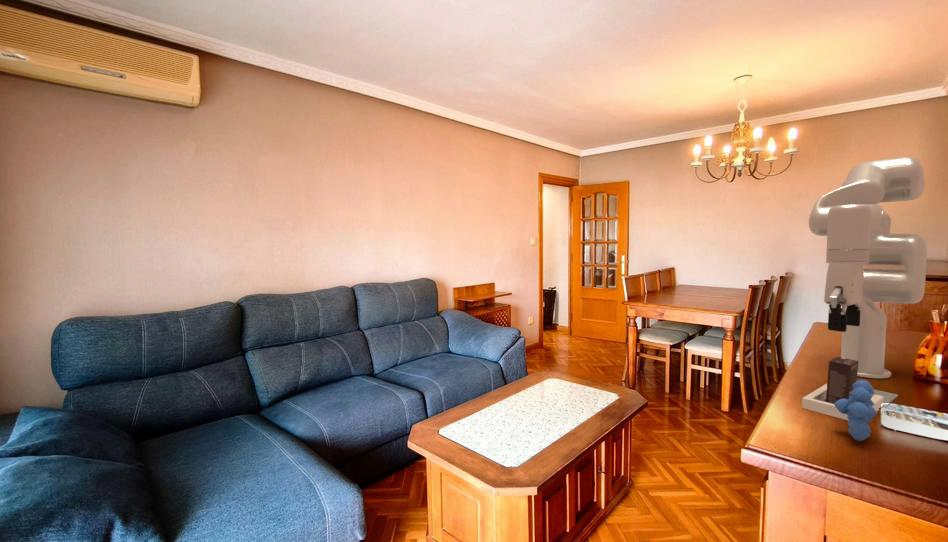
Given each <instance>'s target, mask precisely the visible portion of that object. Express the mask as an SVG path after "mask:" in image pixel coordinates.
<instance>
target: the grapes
mask: <svg viewBox="0 0 948 542" xmlns="http://www.w3.org/2000/svg"><path fill="white" fill-rule="evenodd" d="M852 386H853V389H854V390H852V391H851V392H850V394H851V395H850V396H849V399H848V400H847V399H845V398H842V399H840V400H838V401H836V402H835V403H834V405H835V407H836V408H837V409H838V410H839V412H841V413H842V414H847V416H848V417H847V418H848V420H849V421H848V420H847V422H846V423H847V425H848V426H849V428H848V429H847V432H848V433H849V434H850V435H851V437H852V438H853V440H855V441H858V442H862V441H865V440H866V439H868V438H869V437H870V436H871V433H872V430H871V429H870V426H869V424H870V423H871V422H872V421H873V420H874V419H873V417H875V416H876V415H878V411H877V412H876V410H875V409H874V408H873V407H872V406H873V405H874V403H873V401H872V400H871V398H872V396H871V395H872V394H874V393H875V392H874V391H873V390H875V389H874V387H873V386H872V385H871V383H870V382H869V381H867V380H866V379H857V382H855V383H854V384H853V385H852Z"/></svg>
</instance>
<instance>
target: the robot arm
mask: <svg viewBox="0 0 948 542" xmlns="http://www.w3.org/2000/svg"><path fill="white" fill-rule="evenodd" d="M925 186H926V181H925V173H924V167H923V164H922V163H921V161H920V160H918V158H915V157H913V156H902V157H893V158H883V159H876V160H875V159H873V160H869V161H868V160H867V161H863V162H860V163H858V164H856V165H854V166H853V167H852V168H851V169H849V172H848V174H847V175H846V179H845V180H844V182H843V183H842V184H841V187H838V188H836V189H834V190H832V191H830V192H827V193H826V194H824V195H822V196H821V197H819V198H818V199H817V200H816V201H815V203H814V205H813V207H812V210H811V211H810V214H809V219H808V228H809V230H810V231H811V233H812V234H814V235H816V236H818V237H819V236H820V237H826V257H825V263H826V264H828V267H827V270H826V280H825V288H824V298H823V300H824V303H825V304H826V305H828V307H829V308H828V318H827V329H828V331H834V332H841V353H840V357H841V358H846V359H851V360H856V361H859V362H858V372H857V377H860V378H865V379H866V378H868V379H889V378H891V377H892V372H891V371H890V370H888V369H886V368H885V355H886V354H885V352H886V338H887V337H886V336H887V335H886V334H887V333H886V332H887V316H886V314H885V312H884V311H883V310H882V309H881V308H880V307H879V306H878V305H877V304H876V303H894V304H909V305H910V304H917V303H920V302H921V301H922V299H924V296H925V292H926V291H925V290H926V274H927V273H926V272H927V271H926V270H927V253H928V251H927V249H928V248H927V243H926V240H925V239H924V237H923V236H921V235H919V234H917V233H891V223H892V222H891V221H892V219H891V216H890V215H889V214H888V213H887V211H886V210H885V209H884V208H883V207H881V206H880V205H878V204H879V203H894V202H908V201H909V202H910V201H915V200H917V199H919V198H921V196H922V195H923V192H924V191H925ZM864 266H870V267H871V266H876V267H877V266H878V267H879V266H881V267H883V266H884V267H899V268H901V269H902V270H901V269H878V268H877V269H875V268H874V269H873V268H872V269H871V268H864Z"/></svg>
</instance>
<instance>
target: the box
mask: <svg viewBox="0 0 948 542" xmlns="http://www.w3.org/2000/svg"><path fill="white" fill-rule="evenodd" d="M858 362H859V361H856V360H851V359H846V358H841V356H836V357H833V358H832V359H831V360H829V361H828V369H827V370H828V373H827V380H826V381H827V382H826V384H827V393H826V400H825V402H828V403H832V404H834V403H835V402H836V401H838V400H840V399H842V398H845V399H847V400H848V399H849V396H850V395H851V394H850V392H851V391H852V390H854V389H853V386H852V385H853V384H854V383H855V382H857V381H858V376H857V372H858Z"/></svg>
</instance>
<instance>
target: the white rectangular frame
mask: <svg viewBox="0 0 948 542" xmlns="http://www.w3.org/2000/svg"><path fill="white" fill-rule="evenodd" d="M826 393H827V383H825V384H823V385H822V386H820V387H819V388H816V389H815V390H813V391H812V392H809V394H806V395H805V396H803V397H802V399H801V409H804V410H807V409H808V411H812V412H816V413H819V414H822V415H827V416H830V417H834V418H836V419H837V418H838V419H841V420H844V421H847V422H848V421H849V420H848V418H847V417H848V416H847V414H842V413H841V412H839V410H838V409H837V408H836V407H835V405H834V404H832V403H828V402H826V400H825V399H826ZM883 399H884V396H879V395H874V396H873V397H872V398H871V400H872V401H873V403H874V405H873V406H872V407H873V408H874V409H875V410H876V412H877V413H878V412H879V411H880V409H879V408H880V406H881V404H882V403H883Z"/></svg>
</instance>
